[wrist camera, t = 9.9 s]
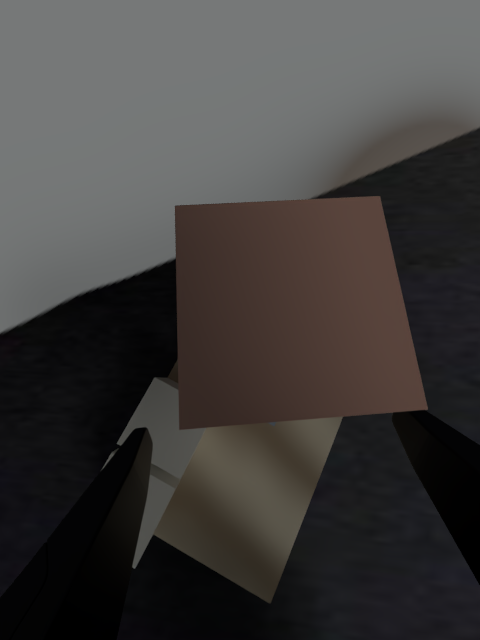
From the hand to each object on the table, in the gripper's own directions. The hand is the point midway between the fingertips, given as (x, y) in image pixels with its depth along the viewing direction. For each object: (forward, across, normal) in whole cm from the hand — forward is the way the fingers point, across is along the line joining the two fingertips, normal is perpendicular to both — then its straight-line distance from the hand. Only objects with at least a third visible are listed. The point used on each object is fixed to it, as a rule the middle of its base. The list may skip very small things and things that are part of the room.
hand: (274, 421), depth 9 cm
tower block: (+8, 0, +4) cm, 9 cm away
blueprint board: (+6, +1, +8) cm, 10 cm away
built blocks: (+5, +6, +8) cm, 11 cm away
